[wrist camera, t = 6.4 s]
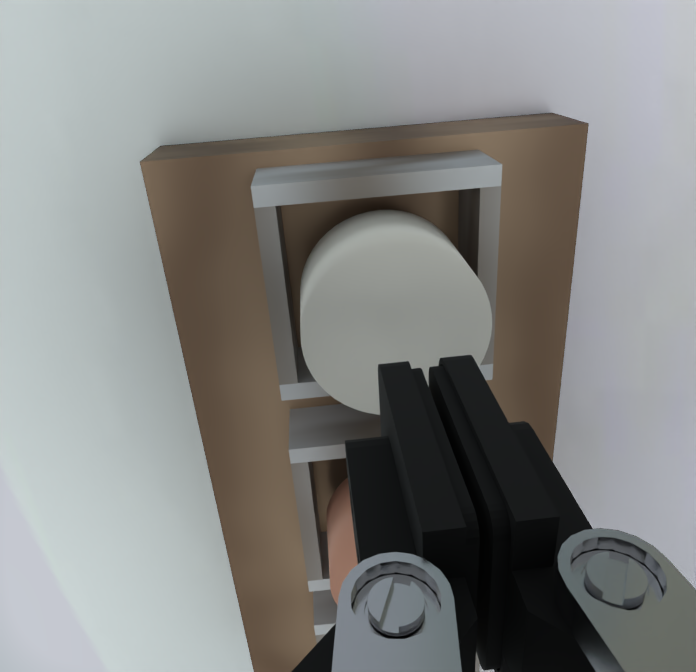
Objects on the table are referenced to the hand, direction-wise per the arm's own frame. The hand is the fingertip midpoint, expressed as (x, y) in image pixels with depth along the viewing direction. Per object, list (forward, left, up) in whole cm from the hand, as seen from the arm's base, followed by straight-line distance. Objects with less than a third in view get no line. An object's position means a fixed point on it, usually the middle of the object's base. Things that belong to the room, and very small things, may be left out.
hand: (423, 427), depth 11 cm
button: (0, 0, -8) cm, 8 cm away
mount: (0, +9, -13) cm, 16 cm away
